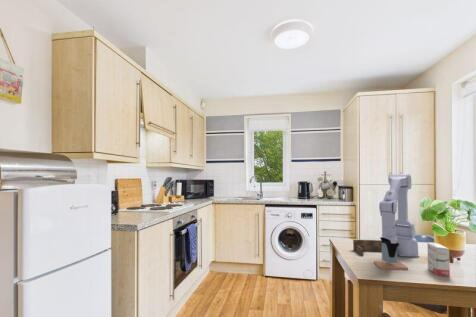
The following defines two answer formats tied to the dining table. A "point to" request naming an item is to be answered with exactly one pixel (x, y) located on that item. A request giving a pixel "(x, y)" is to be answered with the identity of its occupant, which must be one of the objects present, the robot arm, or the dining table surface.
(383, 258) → the block
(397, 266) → the tile
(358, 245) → the wooden u-shaped rack
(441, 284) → the dining table surface
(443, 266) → the ink box
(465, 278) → the dining table surface
